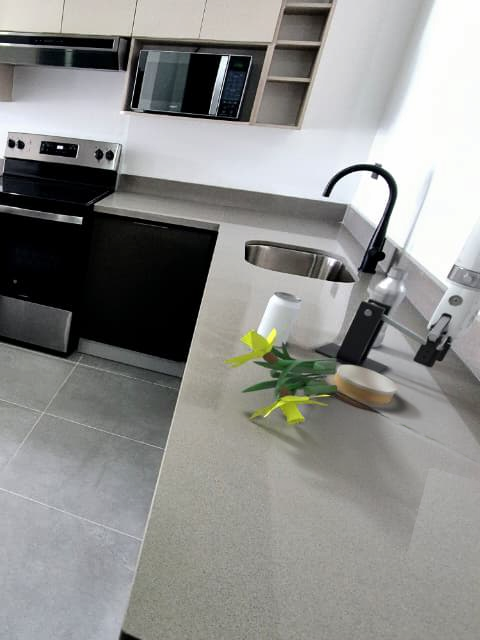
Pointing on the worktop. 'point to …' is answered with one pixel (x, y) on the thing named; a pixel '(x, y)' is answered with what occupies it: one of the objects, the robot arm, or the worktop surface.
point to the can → (280, 316)
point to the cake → (363, 386)
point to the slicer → (360, 337)
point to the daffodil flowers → (286, 375)
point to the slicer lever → (404, 329)
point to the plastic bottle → (390, 295)
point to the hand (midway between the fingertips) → (427, 360)
